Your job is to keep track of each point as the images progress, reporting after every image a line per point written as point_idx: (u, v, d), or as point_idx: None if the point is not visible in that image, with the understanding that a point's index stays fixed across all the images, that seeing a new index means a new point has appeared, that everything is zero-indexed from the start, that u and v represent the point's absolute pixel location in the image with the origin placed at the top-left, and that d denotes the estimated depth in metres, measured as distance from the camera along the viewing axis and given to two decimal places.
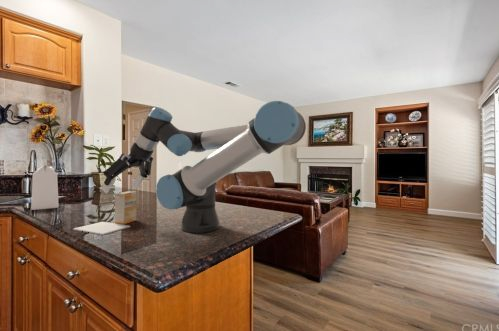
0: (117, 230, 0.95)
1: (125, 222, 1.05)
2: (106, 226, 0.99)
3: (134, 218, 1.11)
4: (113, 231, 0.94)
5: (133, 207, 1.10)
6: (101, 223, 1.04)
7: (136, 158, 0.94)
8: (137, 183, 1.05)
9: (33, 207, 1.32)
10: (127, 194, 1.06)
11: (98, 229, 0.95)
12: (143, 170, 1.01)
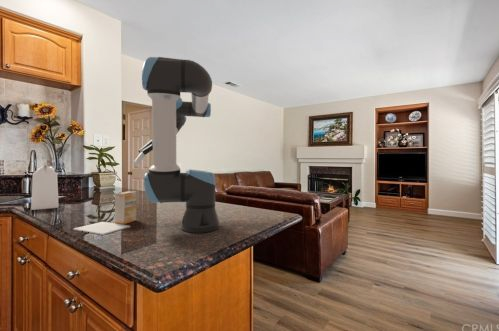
0: (117, 230, 0.95)
1: (125, 222, 1.05)
2: (106, 226, 0.99)
3: (134, 218, 1.11)
4: (113, 231, 0.94)
5: (133, 207, 1.10)
6: (101, 223, 1.04)
7: None
8: None
9: (33, 207, 1.32)
10: (127, 194, 1.06)
11: (98, 229, 0.95)
12: None
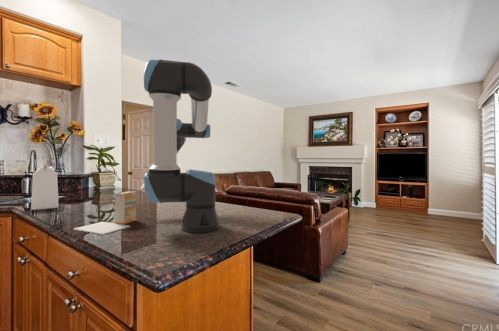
0: (117, 230, 0.95)
1: (125, 222, 1.05)
2: (106, 226, 0.99)
3: (134, 218, 1.11)
4: (113, 231, 0.94)
5: (133, 207, 1.10)
6: (101, 223, 1.04)
7: None
8: None
9: (33, 207, 1.32)
10: (127, 194, 1.06)
11: (98, 229, 0.95)
12: None
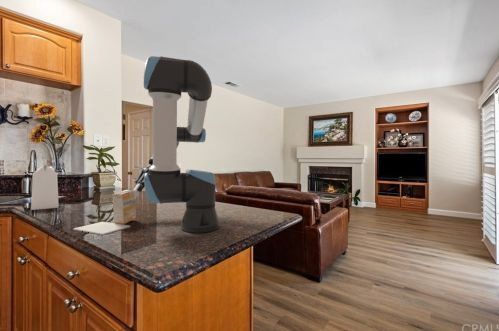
0: (117, 230, 0.95)
1: (125, 222, 1.05)
2: (106, 226, 0.99)
3: (134, 216, 1.10)
4: (113, 231, 0.94)
5: (132, 206, 1.09)
6: (101, 223, 1.04)
7: (149, 164, 1.25)
8: None
9: (33, 207, 1.32)
10: (125, 194, 1.04)
11: (98, 229, 0.95)
12: None
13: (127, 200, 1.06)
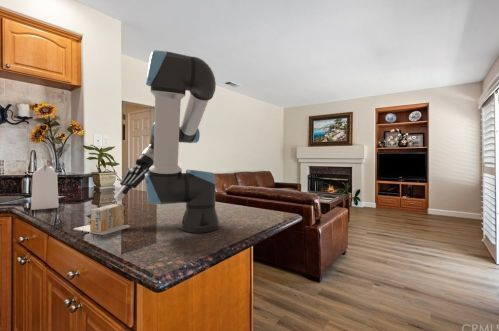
0: (117, 230, 0.95)
1: (122, 221, 1.03)
2: None
3: (122, 207, 1.03)
4: (113, 231, 0.94)
5: (114, 212, 0.98)
6: None
7: (137, 164, 1.17)
8: None
9: (33, 207, 1.32)
10: (102, 226, 0.92)
11: None
12: (132, 177, 1.10)
13: (108, 222, 0.95)
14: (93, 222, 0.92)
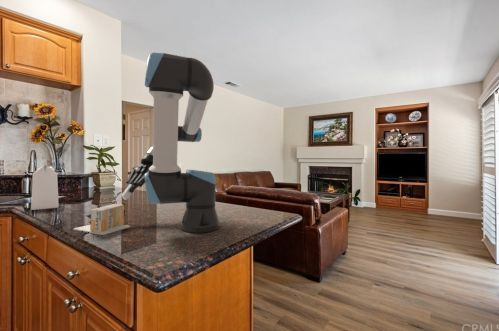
0: (117, 230, 0.95)
1: (122, 221, 1.03)
2: None
3: (122, 208, 1.03)
4: (113, 231, 0.94)
5: (114, 212, 0.98)
6: None
7: (142, 163, 1.20)
8: None
9: (33, 207, 1.32)
10: (102, 226, 0.92)
11: None
12: (138, 176, 1.13)
13: (108, 222, 0.95)
14: (93, 222, 0.92)
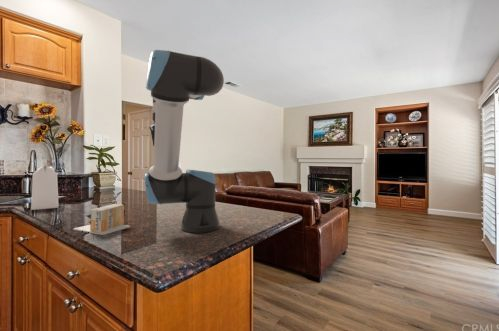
0: (117, 230, 0.95)
1: (122, 221, 1.03)
2: None
3: (122, 208, 1.03)
4: (113, 231, 0.94)
5: (114, 212, 0.98)
6: None
7: None
8: None
9: (33, 207, 1.32)
10: (102, 226, 0.92)
11: None
12: None
13: (108, 222, 0.95)
14: (93, 222, 0.92)
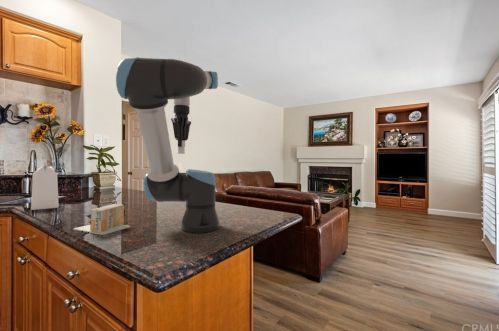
0: (117, 230, 0.95)
1: (122, 221, 1.03)
2: None
3: (122, 208, 1.03)
4: (113, 231, 0.94)
5: (114, 212, 0.98)
6: None
7: (180, 113, 1.21)
8: None
9: (33, 207, 1.32)
10: (102, 226, 0.92)
11: None
12: (184, 131, 1.24)
13: (108, 222, 0.95)
14: (93, 222, 0.92)
